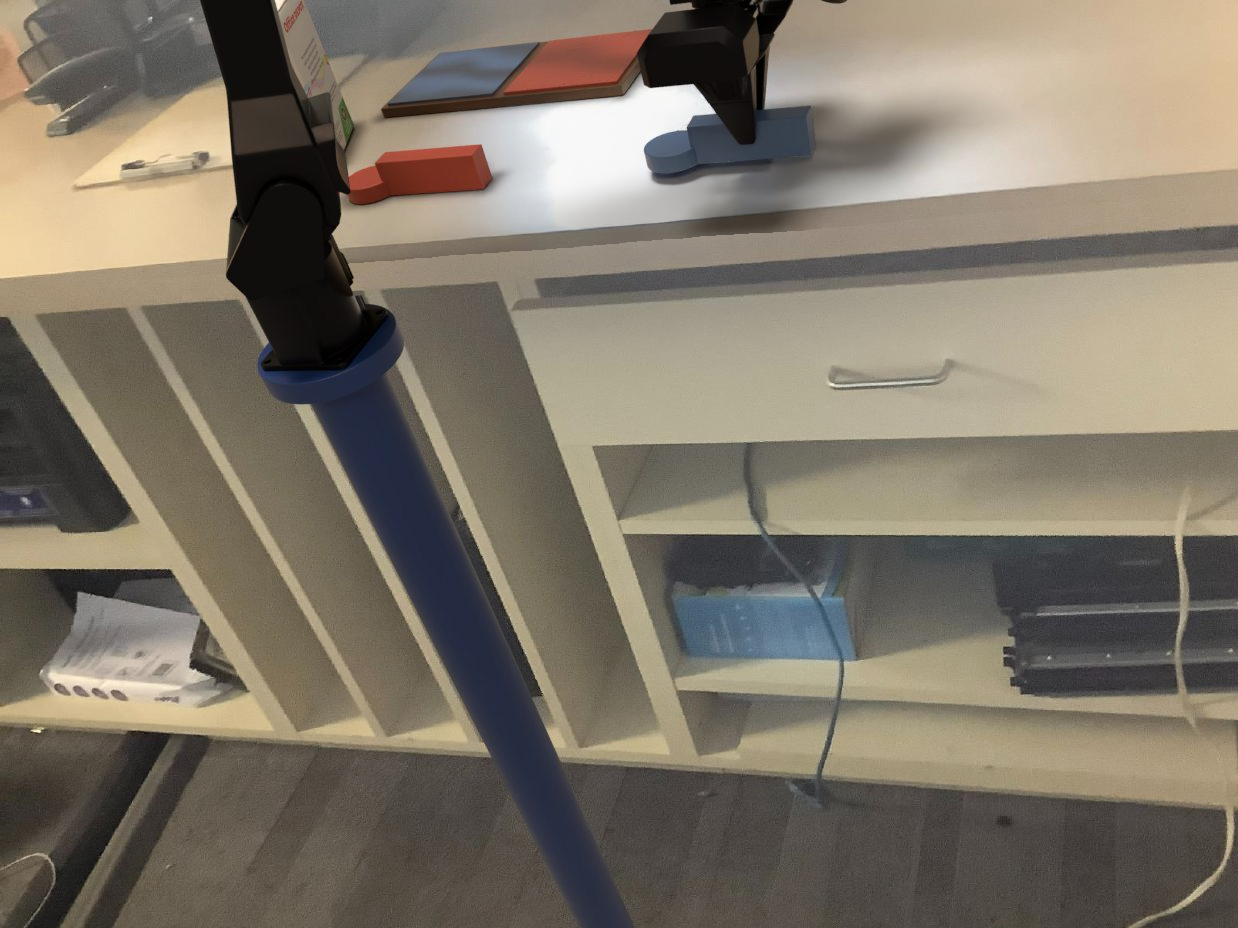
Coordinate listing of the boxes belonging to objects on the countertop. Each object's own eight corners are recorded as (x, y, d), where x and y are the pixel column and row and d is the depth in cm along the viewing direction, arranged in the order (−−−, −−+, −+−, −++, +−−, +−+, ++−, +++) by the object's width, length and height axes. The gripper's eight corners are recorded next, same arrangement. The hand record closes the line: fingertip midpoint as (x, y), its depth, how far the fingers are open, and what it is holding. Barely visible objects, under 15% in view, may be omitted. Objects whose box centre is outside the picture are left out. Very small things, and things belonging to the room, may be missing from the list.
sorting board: (623, 95, 90) (620, 82, 89) (383, 117, 97) (379, 106, 96) (665, 37, 98) (662, 25, 98) (441, 61, 105) (437, 51, 105)
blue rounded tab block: (819, 136, 76) (814, 97, 74) (808, 163, 73) (802, 124, 71) (656, 148, 79) (648, 112, 78) (640, 175, 76) (631, 138, 75)
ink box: (301, 138, 97) (238, -5, 90) (356, 125, 97) (298, -20, 89) (280, 180, 91) (211, 30, 83) (340, 167, 90) (275, 14, 83)
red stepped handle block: (498, 170, 84) (487, 136, 82) (477, 196, 81) (465, 162, 79) (364, 180, 87) (351, 148, 86) (340, 205, 85) (325, 173, 83)
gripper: (816, -98, 55) (850, 197, 66) (873, -191, 68) (894, 67, 79) (605, -68, 59) (668, 208, 69) (697, -162, 72) (738, 82, 82)
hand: (751, 136), depth 75 cm, fingers closed on blue rounded tab block, 2 cm apart
